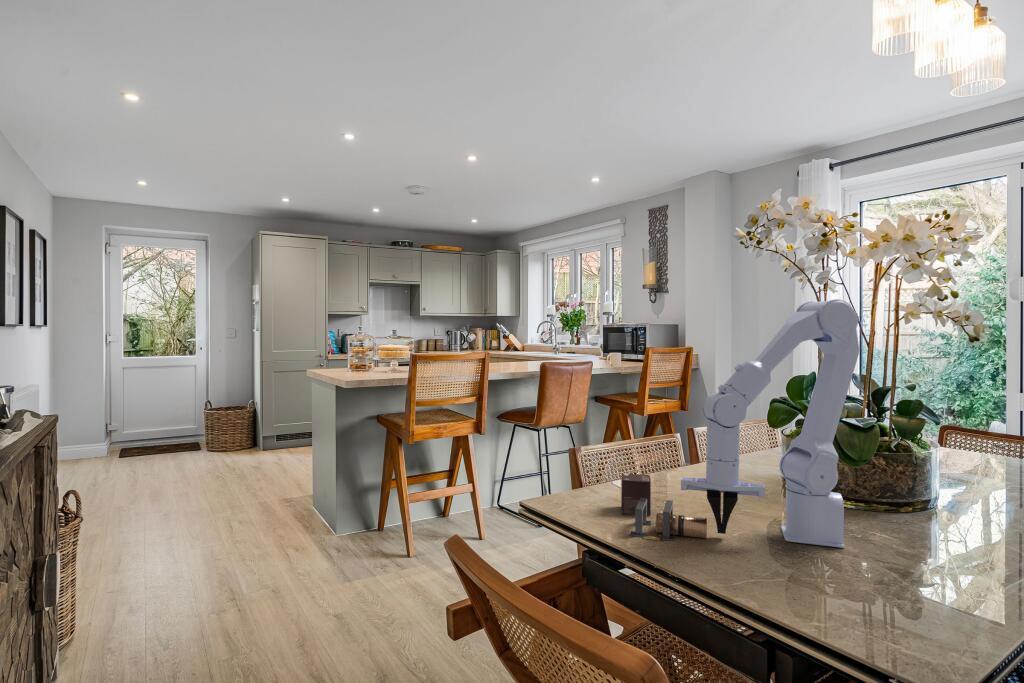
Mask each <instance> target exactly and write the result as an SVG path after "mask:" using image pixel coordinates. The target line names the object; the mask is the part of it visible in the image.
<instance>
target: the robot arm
mask: <svg viewBox="0 0 1024 683" xmlns="http://www.w3.org/2000/svg"><path fill="white" fill-rule="evenodd" d="M859 320H860V316H859V315H858V313H857V312H856V311H855V309H854V308H853V307H852V305H851V304H849V302H847V301H846V300H844V299H841V298H836V299H830V300H821V301H820V300H819V301H806V302H803V303H802V304H800V305H799V306H798V308H796V310H795V311H794V312H793V313H791V314H790V315H789V316H788V317H787V320H786V322H785V323H784V324H783V326H782V327H781V328H780V329H779V330H778V332H777V333H776V334H775V335H774V336H773V337H772V339H771V341H770V342H769V343H768V344H767V345H766V346H765V348H764V349H763V350H762V352H760V354H759V355H758V356H757V357H756V359H755V360H751V361H750V360H749V361H744V362H743V363H737V365H736V366H735V367H734V368H733V370H734V373H733V374H732V375H731V376H730V377H729V378H728V379H727V380H726V381H725V383H724V384H720V385H718V387H717V390H718V392H714V393H711V394H709V395H708V396H707V397H706V398H705V400H704V401H703V404H704V405H702V406H701V407H700V408H701V413H702V414H703V417H704V418H705V419H706V450H705V452H706V454H705V458H706V459H705V461H706V463H705V466H706V467H705V477H681V479H680V490H681V491H687V490H688V491H698V492H706V498H707V499H706V500H707V501H708V503H709V505H710V507H711V510H712V513H713V516H714V520H715V523H716V529H717V530H716V532H717V534H724V535H725V534H726V533H727V526H728V523H729V520H730V517H731V514H732V513H733V510H734V508H735V506H736V505H737V503H738V500H739V498H738V497H739V495H740V496H741V495H742V496H752V497H758V498H761V499H763V498H764V499H765V498H766V485H765V484H761V483H755V482H754V483H753V482H747V481H741V480H740V437H741V436H740V423H741V422H743V421H745V419H746V417H747V409H748V408H749V406H751V404H752V403H753V402H754V401H755V399H757V398H758V396H760V394H761V393H762V392H763V391H764V390H765V389H766V388H767V387H768V385H770V384H771V382H772V381H771V380H772V379H771V374H772V373H771V372H772V371H773V370H774V369H775V368H776V367H777V366H778V365H780V363H781V362H783V360H784V359H786V358H787V357H788V356H789V355H790V354H791V353H792V352H793V351H794V350H795V349H796V348H797V347H798V346H799V345H800V344H801V343H803V342H806V341H811V340H812V341H813V343H815V344H816V346H817V347H818V348H819V350H820V351H821V353H822V354H823V356H822V360H821V363H820V366H819V369H818V372H817V373H818V374H817V376H816V380H815V383H814V386H813V390H812V393H811V397H810V400H809V403H808V407H807V410H806V414H805V418H804V422H803V425H802V427H801V432H800V434H799V435H797V436H796V437H795V438H793V439H792V440H791V441H790V444H789V447H788V448H787V450H786V451H785V453H783V455H782V456H781V457H780V461H779V472H780V473H781V475H782V476H783V478H785V525H781V526H780V527H781V528H780V529H781V532H782V535H783V537H784V541H786V542H792V543H799V544H808V545H817V546H824V547H834V548H841V549H842V548H845V544H844V538H845V537H844V531H845V530H844V528H845V527H844V526H845V523H844V522H845V521H844V520H845V519H844V518H845V507H844V499H843V496H842V494H841V493H839V492H833V491H832V490H833V489H835V487H836V485H837V484H838V480H839V472H838V462H839V459H840V458H839V454H838V453H837V450H836V448H835V445H834V444H833V443H834V439H835V436H836V433H837V429H838V425H839V422H840V419H841V416H842V413H843V409H844V405H845V404H846V403H845V402H846V398H847V396H848V392H849V389H850V385H851V382H852V379H853V375H854V372H855V368H856V365H857V362H858V358H859V354H860V346H859V345H860V344H859V337H858V331H857V327H858V324H859ZM721 512H722V513H721Z"/></svg>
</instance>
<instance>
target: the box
mask: <svg viewBox="0 0 1024 683" xmlns="http://www.w3.org/2000/svg"><path fill="white" fill-rule="evenodd" d="M651 480H652V479H651V475H650V474H641V473H640V474H639V473H638V474H635V473H621V490H620V491H621V494H620V495H621V497H620V498H621V500H620V501H621V504H620V505H621V506H620V507H621V509H620V510H621V514H622V515H626V516H627V515H628V516H635V509H636V507H637V504H638V502H639V500H640V498H647V517H650V516H651V512H652V510H651V509H652V508H651V506H652V505H651V503H652V502H651V499H652V497H651V496H652V495H651V494H652V491H651V490H652V488H651V486H652V484H651V483H652V482H651Z"/></svg>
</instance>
